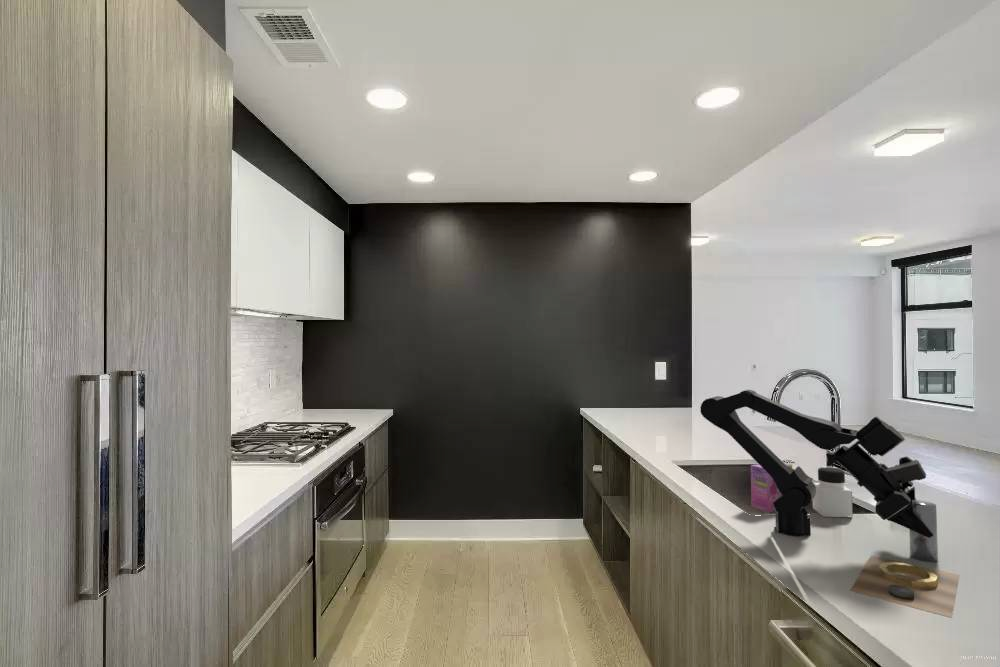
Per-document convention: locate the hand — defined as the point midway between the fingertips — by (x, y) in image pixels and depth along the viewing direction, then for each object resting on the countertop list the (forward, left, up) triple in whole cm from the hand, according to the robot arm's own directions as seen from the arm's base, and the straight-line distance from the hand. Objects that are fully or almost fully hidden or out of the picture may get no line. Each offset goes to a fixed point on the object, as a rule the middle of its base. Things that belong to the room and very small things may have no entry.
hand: (931, 530), depth 108 cm
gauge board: (-10, -13, -7) cm, 18 cm away
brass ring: (-9, -11, -6) cm, 15 cm away
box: (-24, +32, -7) cm, 41 cm away
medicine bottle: (-10, +30, -7) cm, 32 cm away
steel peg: (-1, +1, -7) cm, 7 cm away
